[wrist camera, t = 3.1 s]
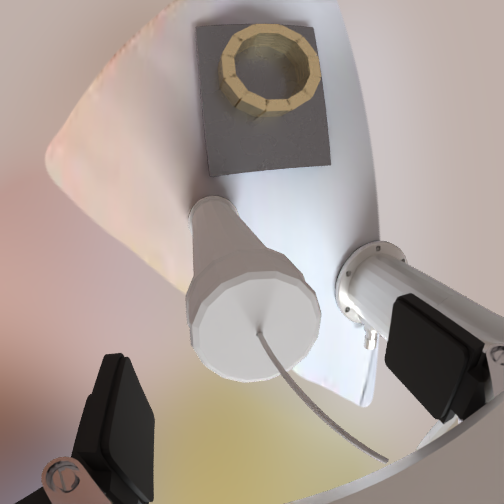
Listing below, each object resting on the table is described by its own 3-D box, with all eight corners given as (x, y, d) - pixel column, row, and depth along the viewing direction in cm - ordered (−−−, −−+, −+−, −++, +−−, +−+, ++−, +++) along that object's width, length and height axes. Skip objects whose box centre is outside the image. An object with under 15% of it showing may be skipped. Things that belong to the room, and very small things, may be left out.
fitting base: (325, 165, 34) (347, 166, 29) (209, 176, 32) (213, 178, 27) (308, 31, 29) (326, 14, 24) (195, 32, 27) (197, 11, 21)
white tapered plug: (206, 184, 32) (307, 324, 4) (250, 214, 34) (452, 399, 6) (179, 225, 33) (150, 488, 5) (223, 253, 35) (328, 506, 7)
